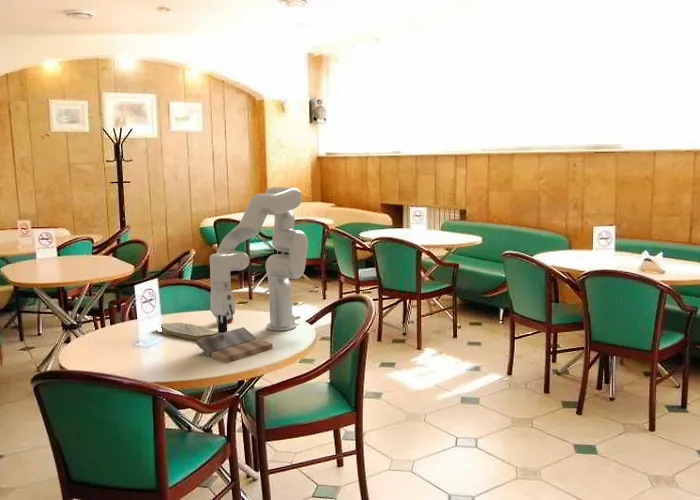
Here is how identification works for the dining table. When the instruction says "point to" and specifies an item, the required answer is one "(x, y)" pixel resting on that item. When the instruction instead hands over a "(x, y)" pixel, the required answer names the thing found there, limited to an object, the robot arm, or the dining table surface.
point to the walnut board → (241, 350)
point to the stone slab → (187, 331)
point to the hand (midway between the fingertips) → (222, 331)
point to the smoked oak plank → (224, 340)
